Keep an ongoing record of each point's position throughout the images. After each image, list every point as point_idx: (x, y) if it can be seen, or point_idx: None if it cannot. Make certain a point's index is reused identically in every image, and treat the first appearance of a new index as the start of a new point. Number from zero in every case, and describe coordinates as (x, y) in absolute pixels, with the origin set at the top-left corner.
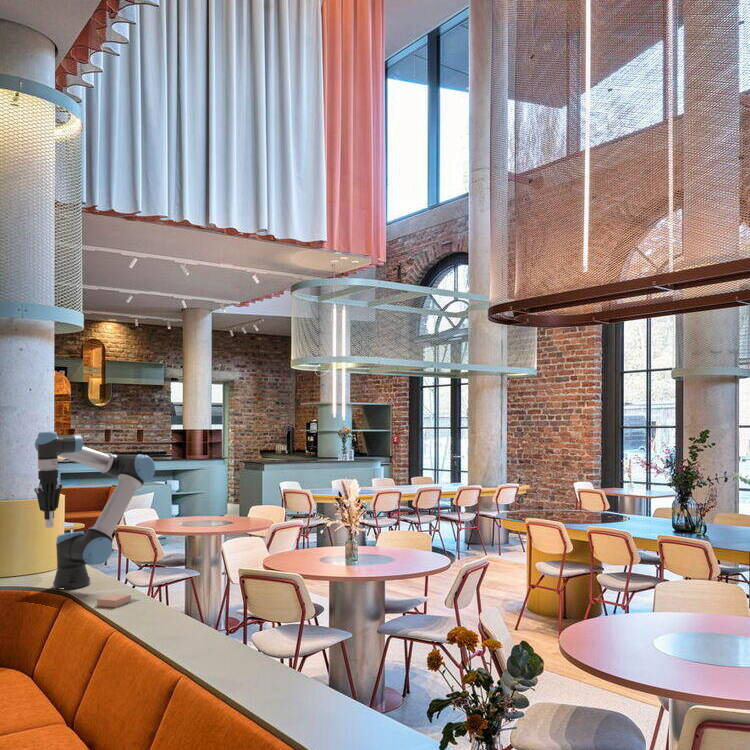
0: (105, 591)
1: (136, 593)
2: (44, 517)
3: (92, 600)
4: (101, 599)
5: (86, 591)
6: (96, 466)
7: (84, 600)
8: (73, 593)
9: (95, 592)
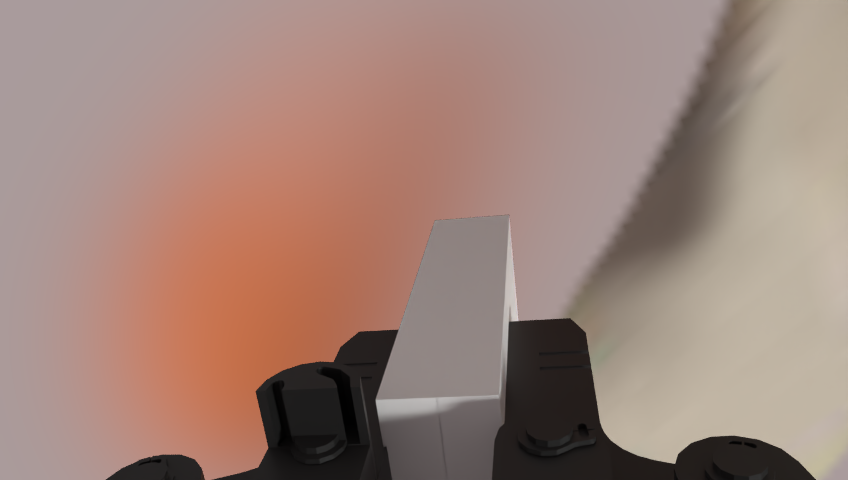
0: (822, 252)
1: (817, 474)
2: (336, 358)
3: (590, 343)
4: None
5: (791, 116)
6: None
7: (574, 297)
8: (711, 68)
9: (779, 206)
